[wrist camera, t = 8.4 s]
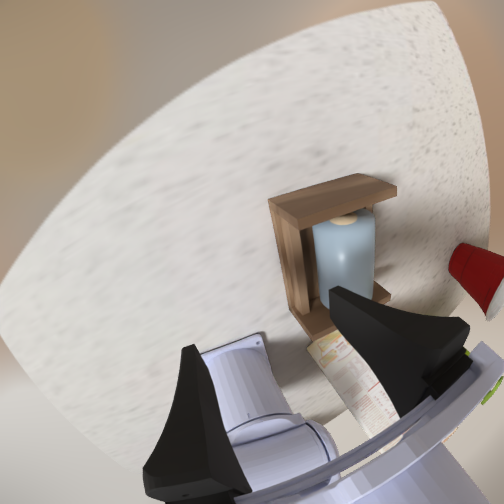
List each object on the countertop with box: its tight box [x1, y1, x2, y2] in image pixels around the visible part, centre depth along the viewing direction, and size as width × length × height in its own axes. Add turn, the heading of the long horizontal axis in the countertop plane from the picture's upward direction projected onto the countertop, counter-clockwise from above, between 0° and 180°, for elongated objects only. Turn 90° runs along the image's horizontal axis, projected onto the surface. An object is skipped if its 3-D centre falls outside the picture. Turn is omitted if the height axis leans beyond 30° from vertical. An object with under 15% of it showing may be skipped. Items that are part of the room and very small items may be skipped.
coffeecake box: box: [307, 330, 458, 454], centre depth 26 cm, size 15×7×20 cm, turn 39°
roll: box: [312, 208, 375, 309], centre depth 22 cm, size 8×5×5 cm, turn 13°
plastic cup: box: [449, 243, 504, 321], centre depth 31 cm, size 11×11×12 cm
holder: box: [268, 173, 397, 341], centre depth 22 cm, size 12×9×5 cm
